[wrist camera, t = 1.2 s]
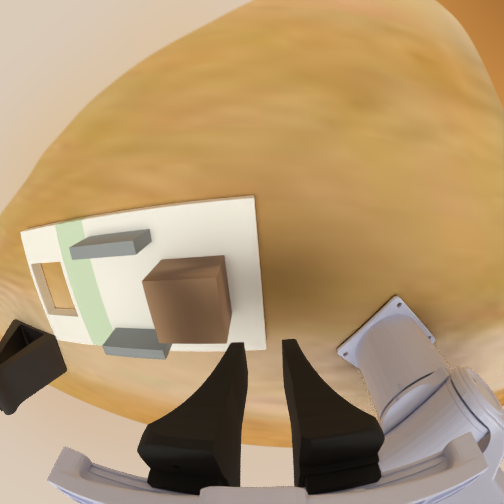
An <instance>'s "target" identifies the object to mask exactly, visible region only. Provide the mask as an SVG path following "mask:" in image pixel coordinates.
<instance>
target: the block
mask: <svg viewBox="0 0 504 504" xmlns="http://www.w3.org/2000/svg"><path fill="white" fill-rule="evenodd" d="M142 285H143V289H144V292H145V296H146V300H147V303H148V307H149V311H150V314H151V317H152V321H153V324H154V327H155V331H156V334H157V337H158V340H159V343H171V344H227V340H228V334H229V328H230V323H231V317H232V308H231V301H230V294H229V286H228V279H227V271H226V264H225V256H224V255H218V256H204V257H190V258H176V259H161V260H160V262H159V263H158V264H157V265H156V266H155V267H154V268H153V269H152V270H151V271H150V273H149V274H148V275H147V276H146V277H145V278H144V279H143V280H142Z"/></svg>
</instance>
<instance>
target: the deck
mask: <svg viewBox="0 0 504 504" xmlns="http://www.w3.org/2000/svg"><path fill="white" fill-rule="evenodd" d="M81 221H82V226H83V230H84V235H85V239H83V240H82V241H80V242H78V243H76V244H74V245H73V246H71V247H69V250H70V254H71V258H72V260H79V259H90V260H91V264H92V268H93V271H94V275H95V278H96V282H97V285H98V288H99V292H100V295H101V298H102V301H103V304H104V307H105V310H106V313H107V316H108V318H109V321H110V324H111V327H112V329H113V332H112V333H111V335H110V336H109V337H108V339H107V340H106V341H105V343H104V344H103V345H102V346H103V349H104V351H105V353H106V355H114V356H124V357H135V358H147V359H164V360H166V358H167V355H168V353H169V351H226V350H227V349H228V347H229V345H230V343H232V342H244V347H245V351H248V350H266V333H265V320H264V307H263V294H262V282H261V269H260V257H259V245H258V233H257V221H256V209H255V198H254V195H250V196H238V197H227V198H217V199H207V200H198V201H189V202H181V203H173V204H165V205H158V206H150V207H143V208H136V209H130V210H123V211H117V212H111V213H105V214H99V215H93V216H89V217H87V218H85V219H82V220H81ZM61 222H63V221H61ZM61 222H56V223H52V224H47V225H42V226H38V227H33V228H29V229H27V230H24V231H22V232H20V233H21V238H22V242H23V246H24V250H25V254H26V257H27V261H28V264H29V268H30V271H31V274H32V277H33V280H34V283H35V286H36V289H37V292H38V295H39V298H40V300H41V303H42V306H43V308H44V311H45V313H46V316H47V318H48V320H49V323H50V325H51V327H52V330H53V332H54V334H55V336H56V339H57V340H61V341H67V342H74V343H82V344H89V345H94V344H93V342H92V340H91V337H90V335H89V332H88V330H87V328H86V325H85V323H84V320H83V318H82V315H81V312H80V310H79V307H78V304H77V301H76V298H75V296H74V293H73V290H72V286H71V283H70V280H69V277H68V274H67V270H66V267H65V263H64V260H63V256H62V252H61V248H60V244H59V240H58V236H57V231H56V227H55V225H56V224H58V223H61ZM218 255H224V256H225V264H226V271H227V279H228V286H229V294H230V301H231V308H232V317H231V323H230V328H229V334H228V340H227V344H171V343H159V340H158V337H157V334H156V331H155V327H154V324H153V321H152V317H151V314H150V311H149V307H148V303H147V300H146V296H145V292H144V289H143V285H142V280H143V279H144V278H145V277H146V276H147V275H148V274H149V273H150V271H151V270H152V269H153V268H154V267H155V266H156V265H157V264H158V263H159V262H160V260H161V259H176V258H190V257H204V256H218ZM48 262H61V266H62V269H63V273H64V276H65V279H66V282H67V286H68V289H69V292H70V295H71V297H72V300H73V303H74V306H75V309H63V308H55V305H54V303H53V300H52V297H51V294H50V291H49V289H48V286H47V283H46V279H45V276H44V273H43V270H42V267H41V263H48Z"/></svg>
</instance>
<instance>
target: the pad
mask: <svg viewBox="0 0 504 504" xmlns="http://www.w3.org/2000/svg"><path fill="white" fill-rule="evenodd" d="M88 217H89V216H88ZM85 218H87V217H82V218H77V219H72V220H66V221H63V222H61V223H58V224H56V225H55V227H56V231H57V236H58V240H59V244H60V248H61V252H62V256H63V260H64V263H65V267H66V270H67V274H68V277H69V280H70V283H71V286H72V290H73V293H74V296H75V298H76V301H77V304H78V307H79V310H80V312H81V315H82V318H83V320H84V323H85V325H86V328H87V330H88V332H89V335H90V337H91V340H92V342H93V344H94V345H100V346H102V345H103V344H104V343H105V341H106V340H107V339H108V337H109V336H110V335H111V333H112V332H113V329H112V327H111V324H110V321H109V318H108V316H107V313H106V310H105V307H104V304H103V301H102V298H101V295H100V292H99V288H98V285H97V282H96V278H95V275H94V271H93V268H92V264H91V260H90V259H79V260H72V258H71V254H70V250H69V247H71V246H73V245H74V244H76V243H78V242H80V241H82V240H83V239H85V235H84V230H83V226H82V221H81V220H82V219H85Z"/></svg>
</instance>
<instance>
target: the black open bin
mask: <svg viewBox="0 0 504 504" xmlns="http://www.w3.org/2000/svg"><path fill="white" fill-rule="evenodd" d="M66 371H67V369H66V367H65V364H64V362H63V359H62V356H61V353H60V350H59V348H58V345H57V342H56V338H55V336H54V335H52V334H49V333H47V332H44V331H42V330H39V329H37V328H33V327H32V326H30V325H27V324H25V323H23V322H21V321H18V320H16V319H15V320H13V321H12V323H11V325H10V326H9V328H8V330H7V331H6V333H5V335H4V336H3V338H2V340H1V341H0V410H1V411H4V413H5V414H6V415H11V414H13V413H14V412H15V411H16V410H17V408H18V406H19V405H20V404H21V403H22V402H23V401H25V400H26V399H27V398H29V397H30V396H32V395H33V394H35V393H36V392H37V391H39V390H40V389H42V388H43V387H45V386H46V385H48V384H49V383H50V382H52V381H53V380H55V379H56V378H58V377H59V376H61V375H62V374H63V373H65V372H66Z"/></svg>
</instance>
